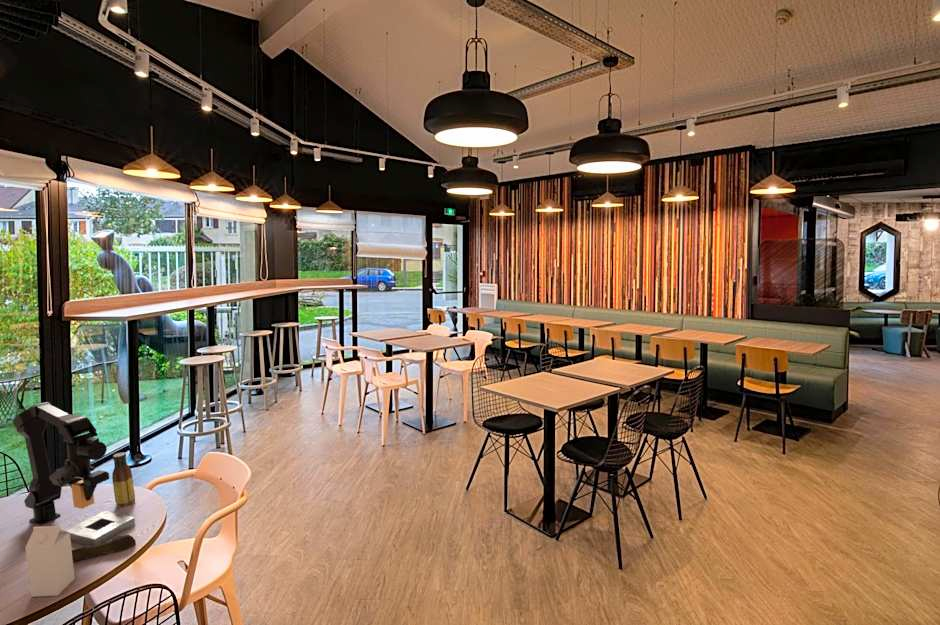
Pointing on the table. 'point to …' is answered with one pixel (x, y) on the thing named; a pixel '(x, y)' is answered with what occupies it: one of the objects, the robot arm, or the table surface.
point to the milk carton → (49, 561)
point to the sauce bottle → (122, 481)
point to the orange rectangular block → (80, 496)
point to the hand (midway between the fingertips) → (83, 499)
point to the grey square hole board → (113, 526)
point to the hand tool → (104, 547)
